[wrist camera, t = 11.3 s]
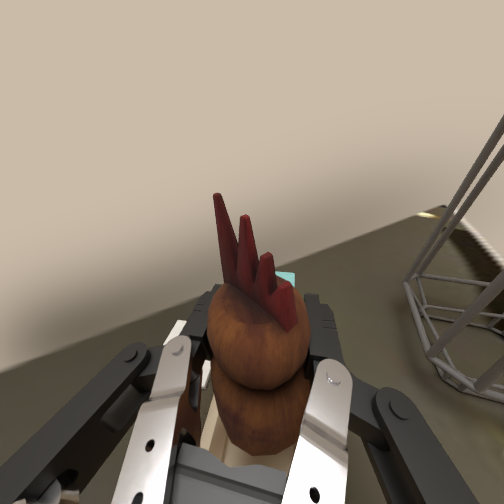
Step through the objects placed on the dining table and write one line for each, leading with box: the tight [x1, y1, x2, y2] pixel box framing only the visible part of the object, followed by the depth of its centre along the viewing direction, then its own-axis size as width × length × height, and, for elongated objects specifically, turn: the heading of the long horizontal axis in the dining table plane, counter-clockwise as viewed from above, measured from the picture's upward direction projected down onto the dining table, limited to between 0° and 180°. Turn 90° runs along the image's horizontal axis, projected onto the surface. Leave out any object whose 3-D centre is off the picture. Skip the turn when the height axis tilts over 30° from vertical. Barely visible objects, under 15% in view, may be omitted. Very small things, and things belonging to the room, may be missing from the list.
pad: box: [163, 320, 211, 389], centre depth 20 cm, size 6×6×1 cm
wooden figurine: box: [207, 193, 311, 456], centre depth 9 cm, size 7×6×15 cm
